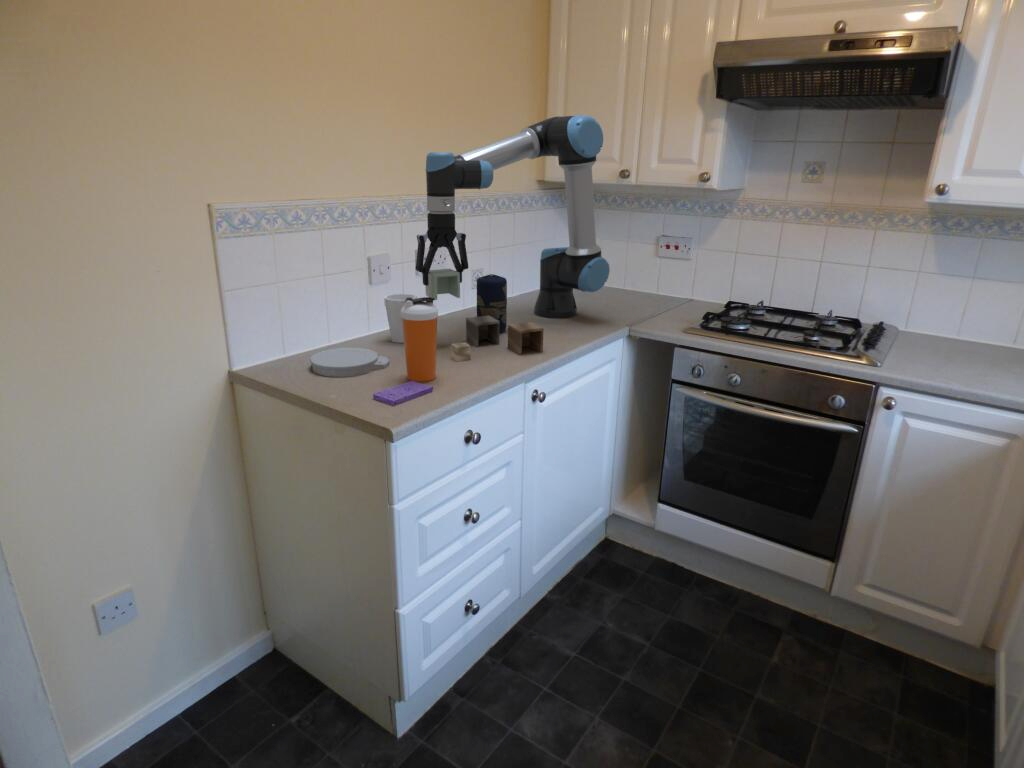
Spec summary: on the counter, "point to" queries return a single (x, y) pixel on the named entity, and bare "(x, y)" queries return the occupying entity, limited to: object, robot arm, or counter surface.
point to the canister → (492, 298)
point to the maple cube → (460, 351)
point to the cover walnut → (525, 336)
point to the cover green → (445, 282)
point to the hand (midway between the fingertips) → (442, 295)
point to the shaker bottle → (420, 338)
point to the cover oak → (482, 329)
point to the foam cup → (396, 315)
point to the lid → (347, 362)
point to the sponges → (402, 393)
